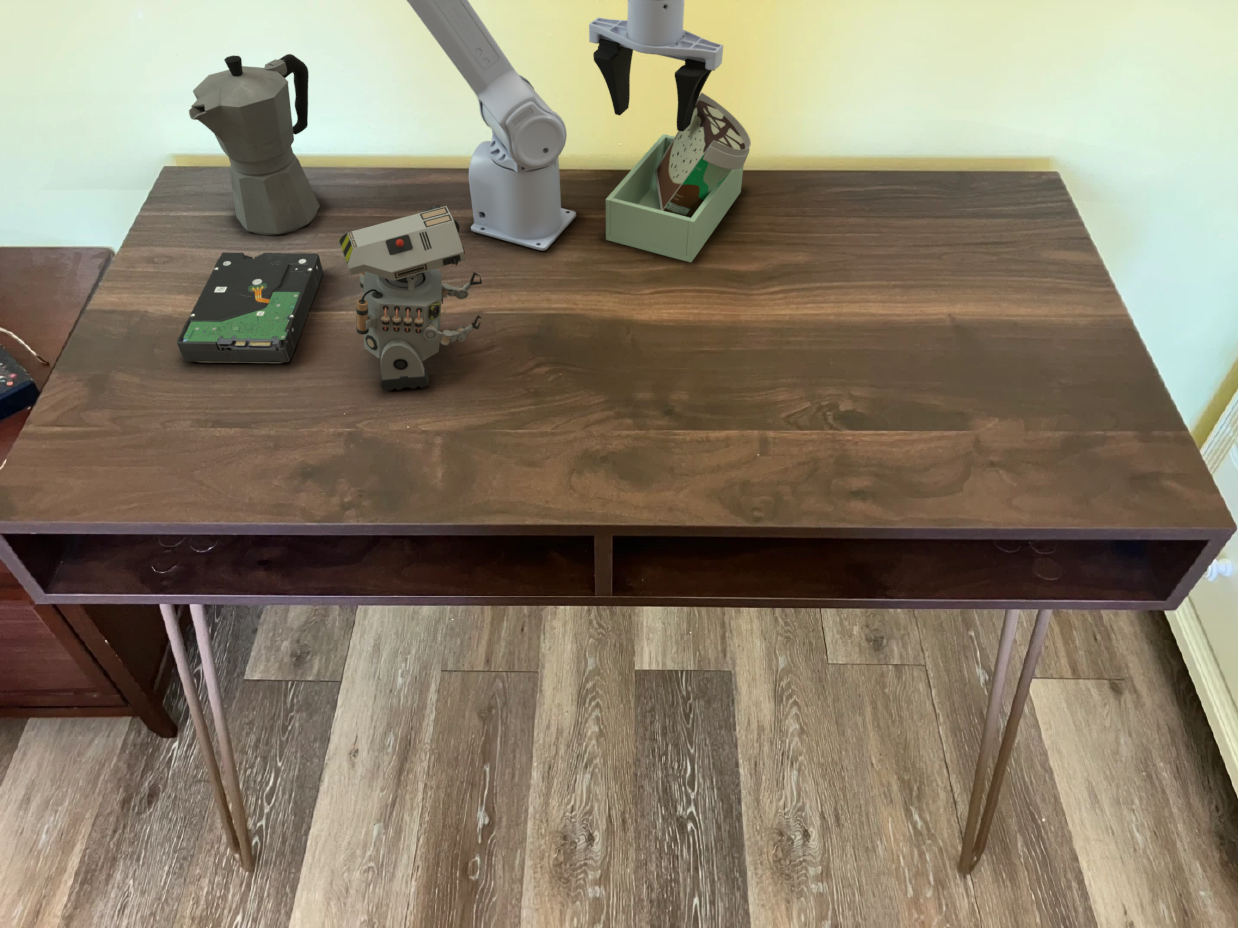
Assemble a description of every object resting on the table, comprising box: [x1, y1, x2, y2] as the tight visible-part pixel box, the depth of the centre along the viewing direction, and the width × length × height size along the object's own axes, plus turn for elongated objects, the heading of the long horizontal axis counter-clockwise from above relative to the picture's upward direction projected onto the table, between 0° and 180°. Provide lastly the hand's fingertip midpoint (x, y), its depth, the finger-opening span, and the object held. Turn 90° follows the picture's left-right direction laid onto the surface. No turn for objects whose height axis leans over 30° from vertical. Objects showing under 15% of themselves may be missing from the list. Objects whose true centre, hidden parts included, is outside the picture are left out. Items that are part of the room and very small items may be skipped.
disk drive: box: [176, 251, 324, 364], centre depth 93 cm, size 10×3×15 cm
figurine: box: [337, 204, 483, 392], centre depth 85 cm, size 9×12×15 cm
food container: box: [655, 92, 752, 218], centre depth 103 cm, size 12×6×10 cm, turn 3°
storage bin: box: [605, 133, 745, 263], centre depth 105 cm, size 10×16×5 cm, turn 155°
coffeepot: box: [188, 53, 321, 236], centre depth 101 cm, size 15×9×18 cm, turn 149°
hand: (652, 119), depth 103 cm, fingers open, 7 cm apart
